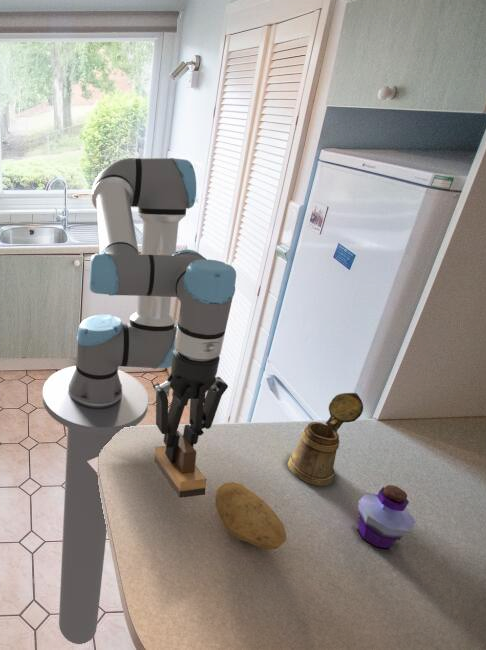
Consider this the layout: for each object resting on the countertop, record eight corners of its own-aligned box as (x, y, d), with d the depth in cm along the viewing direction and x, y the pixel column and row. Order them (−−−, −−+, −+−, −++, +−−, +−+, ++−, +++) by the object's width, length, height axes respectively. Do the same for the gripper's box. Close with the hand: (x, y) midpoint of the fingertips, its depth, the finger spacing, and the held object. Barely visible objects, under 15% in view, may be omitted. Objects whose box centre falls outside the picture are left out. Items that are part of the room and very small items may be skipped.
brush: (154, 461, 92) (156, 427, 90) (177, 458, 93) (179, 424, 90) (179, 498, 81) (182, 460, 79) (205, 494, 82) (209, 456, 80)
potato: (256, 574, 80) (267, 543, 76) (199, 513, 91) (205, 484, 88) (294, 552, 83) (305, 522, 80) (234, 497, 95) (242, 468, 91)
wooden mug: (353, 468, 102) (379, 404, 94) (316, 491, 96) (342, 424, 88) (314, 444, 109) (336, 382, 101) (278, 464, 103) (299, 399, 96)
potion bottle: (400, 530, 88) (423, 485, 82) (404, 566, 81) (430, 519, 76) (348, 510, 92) (366, 466, 87) (348, 543, 85) (368, 496, 80)
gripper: (163, 367, 72) (147, 476, 82) (251, 358, 75) (225, 466, 85) (145, 344, 79) (132, 448, 89) (226, 337, 81) (205, 439, 91)
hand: (177, 456), depth 87 cm, fingers closed on brush, 2 cm apart
